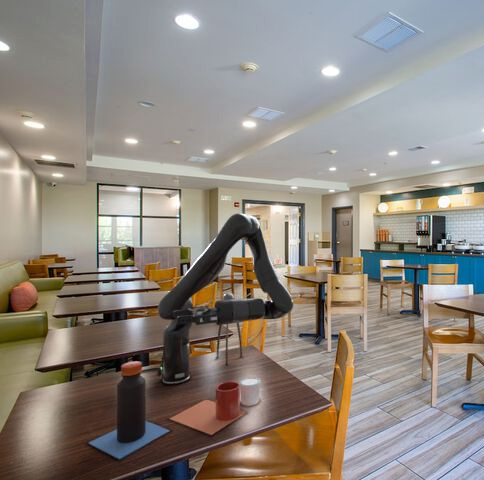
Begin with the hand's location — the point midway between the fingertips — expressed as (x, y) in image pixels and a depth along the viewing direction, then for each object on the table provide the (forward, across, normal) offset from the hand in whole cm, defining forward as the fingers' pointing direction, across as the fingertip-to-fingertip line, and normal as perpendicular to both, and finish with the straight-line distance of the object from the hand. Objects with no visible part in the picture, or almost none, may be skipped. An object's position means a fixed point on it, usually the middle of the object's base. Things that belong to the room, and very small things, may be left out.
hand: (175, 317), depth 101 cm
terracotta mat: (-10, 0, +32) cm, 33 cm away
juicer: (-26, -47, +32) cm, 63 cm away
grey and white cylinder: (-23, -3, +32) cm, 40 cm away
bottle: (+11, 0, +32) cm, 34 cm away
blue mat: (+11, 0, +32) cm, 34 cm away
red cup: (-15, +2, +32) cm, 35 cm away
